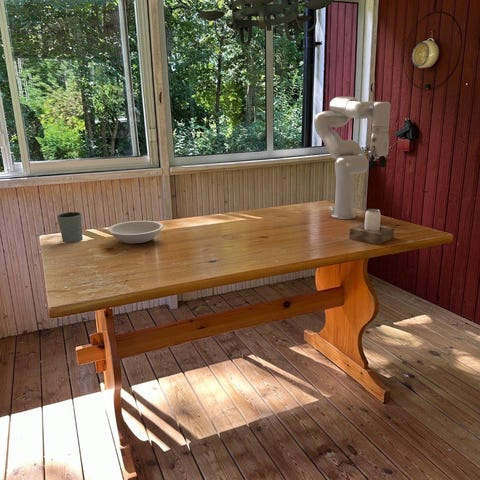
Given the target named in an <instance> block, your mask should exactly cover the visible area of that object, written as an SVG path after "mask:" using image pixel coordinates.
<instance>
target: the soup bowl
mask: <svg viewBox="0 0 480 480" xmlns="http://www.w3.org/2000/svg"><path fill="white" fill-rule="evenodd" d="M163 229H164V224H163V223H161V222H158V221H153V220H132V221H129V220H128V221H123V222H118V223H116V224H112V225H111V226H109V227H107V232H108V233H109V234H111V235H112V236H113V237H114V238H115V239H116V240H117V241H120V242H121V243H125V244H133V245H134V244H142V243H143V244H144V243H147V242H149V241H152V240H154V238H155V237H157V235H158V234H159V233H160V231H161V230H163Z"/></svg>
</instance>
